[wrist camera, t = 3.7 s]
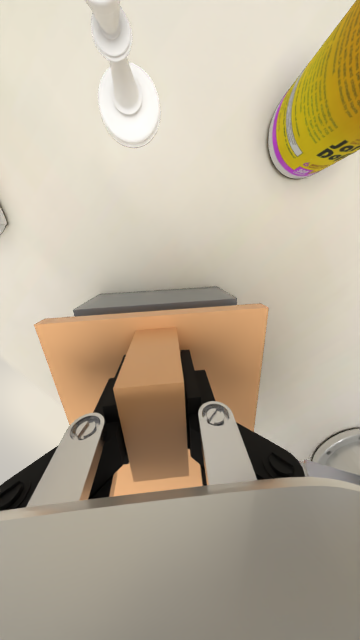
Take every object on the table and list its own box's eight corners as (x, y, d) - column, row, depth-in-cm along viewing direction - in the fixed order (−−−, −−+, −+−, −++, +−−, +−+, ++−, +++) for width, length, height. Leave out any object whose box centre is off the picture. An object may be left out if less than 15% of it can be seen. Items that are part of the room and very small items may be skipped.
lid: (238, 471, 19) (275, 584, 13) (107, 486, 19) (75, 614, 12) (253, 299, 13) (345, 348, 6) (54, 313, 12) (-78, 384, 6)
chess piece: (165, 143, 16) (165, -18, 7) (109, 152, 16) (28, 2, 6) (153, 64, 14) (131, -308, 5) (91, 73, 14) (-56, -286, 5)
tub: (215, 410, 27) (228, 452, 21) (125, 419, 26) (113, 465, 20) (217, 286, 20) (237, 298, 15) (99, 294, 20) (72, 309, 14)
